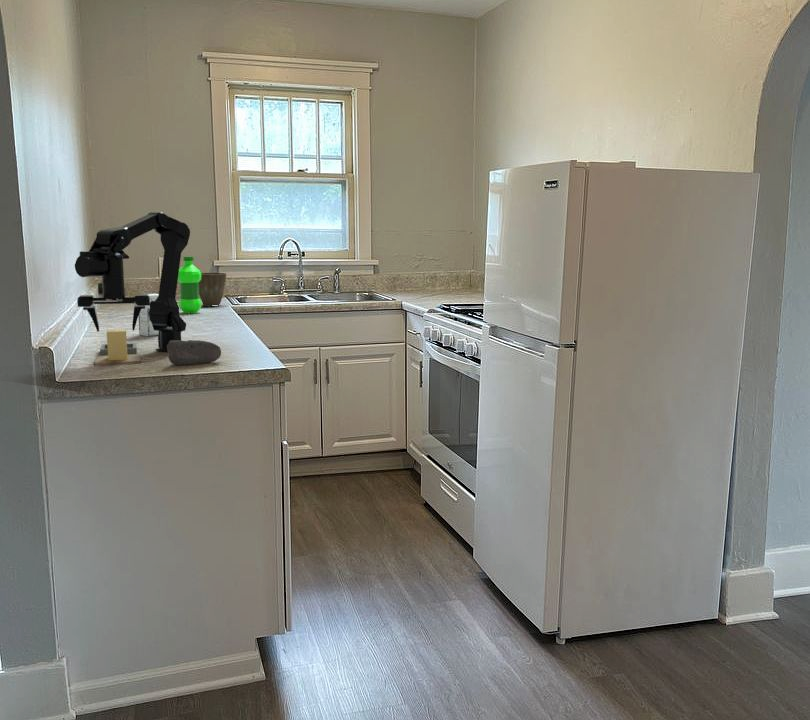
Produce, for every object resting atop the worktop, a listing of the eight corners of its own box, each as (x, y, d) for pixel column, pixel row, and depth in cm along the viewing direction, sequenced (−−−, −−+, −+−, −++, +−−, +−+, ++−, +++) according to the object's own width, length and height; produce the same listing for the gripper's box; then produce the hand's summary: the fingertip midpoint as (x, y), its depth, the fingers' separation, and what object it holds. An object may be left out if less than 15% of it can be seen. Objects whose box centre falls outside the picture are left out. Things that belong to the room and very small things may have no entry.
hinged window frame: (136, 344, 239) (136, 338, 238) (136, 354, 220) (136, 348, 219) (103, 345, 235) (102, 339, 235) (100, 356, 216) (100, 349, 216)
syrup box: (153, 333, 265) (151, 293, 262) (162, 335, 261) (161, 294, 258) (139, 335, 260) (137, 294, 258) (148, 336, 257) (146, 295, 254)
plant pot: (197, 304, 366) (196, 272, 364) (228, 304, 369) (227, 272, 366) (194, 307, 352) (193, 274, 349) (226, 307, 355) (225, 274, 352)
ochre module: (127, 356, 213) (125, 329, 211) (127, 359, 208) (125, 331, 207) (108, 357, 211) (107, 329, 210) (108, 360, 206) (106, 332, 205)
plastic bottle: (198, 311, 338) (196, 256, 333) (205, 313, 329) (203, 257, 324) (176, 312, 332) (173, 256, 328) (182, 314, 324) (180, 257, 319)
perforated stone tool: (219, 361, 212) (219, 337, 210) (223, 364, 207) (222, 339, 206) (165, 364, 206) (164, 339, 204) (167, 367, 201) (166, 342, 200)
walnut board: (140, 356, 217) (140, 354, 217) (140, 363, 206) (140, 360, 206) (96, 358, 213) (96, 356, 213) (94, 365, 202) (94, 363, 202)
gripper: (147, 273, 216) (150, 326, 219) (78, 274, 210) (81, 328, 212) (148, 275, 206) (151, 331, 208) (75, 276, 199) (79, 333, 202)
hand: (116, 331), depth 208 cm, fingers open, 9 cm apart
